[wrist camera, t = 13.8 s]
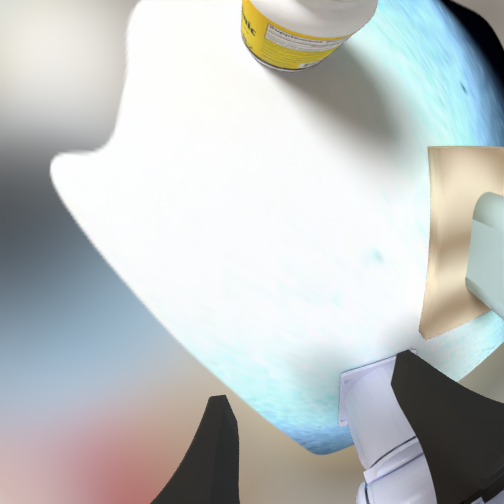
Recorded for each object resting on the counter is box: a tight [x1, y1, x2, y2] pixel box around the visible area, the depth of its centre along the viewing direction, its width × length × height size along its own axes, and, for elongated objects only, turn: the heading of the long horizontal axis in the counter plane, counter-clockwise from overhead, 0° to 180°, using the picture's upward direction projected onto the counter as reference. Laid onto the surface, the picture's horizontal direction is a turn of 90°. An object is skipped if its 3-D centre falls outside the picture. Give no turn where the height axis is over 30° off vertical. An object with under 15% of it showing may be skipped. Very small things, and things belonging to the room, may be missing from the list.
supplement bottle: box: [241, 0, 378, 72], centre depth 8 cm, size 5×5×10 cm
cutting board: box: [419, 146, 504, 340], centre depth 18 cm, size 16×11×2 cm
